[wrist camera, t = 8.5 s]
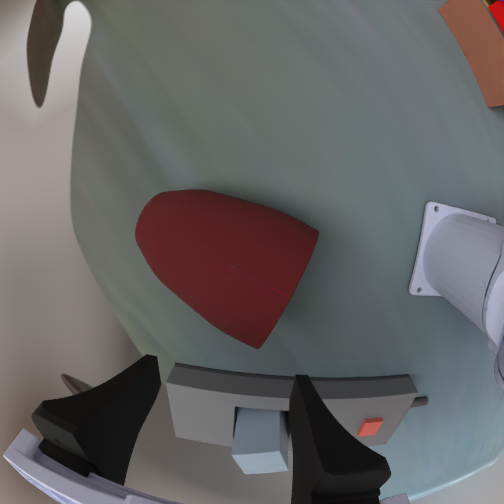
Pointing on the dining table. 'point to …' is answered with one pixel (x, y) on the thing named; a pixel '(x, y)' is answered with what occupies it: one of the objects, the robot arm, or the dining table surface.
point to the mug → (226, 258)
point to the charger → (261, 440)
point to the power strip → (284, 402)
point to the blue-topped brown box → (480, 42)
